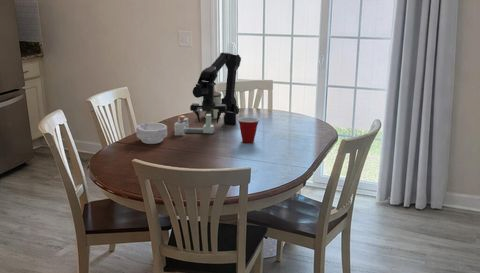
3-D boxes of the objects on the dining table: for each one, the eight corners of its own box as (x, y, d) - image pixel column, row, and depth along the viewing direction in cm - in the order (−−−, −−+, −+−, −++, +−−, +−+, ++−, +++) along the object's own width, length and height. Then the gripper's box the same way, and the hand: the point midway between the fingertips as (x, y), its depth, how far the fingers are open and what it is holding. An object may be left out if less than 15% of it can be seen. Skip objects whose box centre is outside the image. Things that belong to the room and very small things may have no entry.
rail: (214, 131, 264) (214, 128, 264) (213, 133, 262) (213, 129, 261) (187, 131, 265) (187, 127, 265) (186, 132, 262) (186, 129, 262)
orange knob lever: (185, 124, 265) (185, 115, 263) (184, 126, 261) (184, 117, 260) (179, 124, 265) (178, 115, 264) (177, 126, 261) (177, 117, 260)
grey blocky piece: (188, 128, 271) (188, 117, 269) (184, 135, 257) (183, 124, 256) (179, 128, 271) (179, 117, 269) (174, 135, 258) (174, 124, 256)
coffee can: (204, 118, 291) (204, 95, 287) (204, 114, 301) (203, 92, 297) (222, 118, 292) (222, 95, 288) (220, 114, 302) (220, 91, 298)
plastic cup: (259, 139, 253) (260, 116, 250) (258, 145, 243) (258, 121, 239) (238, 138, 254) (238, 115, 251) (236, 144, 244) (236, 121, 240)
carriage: (213, 130, 265) (213, 113, 263) (212, 133, 260) (212, 116, 258) (204, 130, 266) (204, 113, 263) (203, 133, 261) (203, 115, 258)
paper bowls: (167, 145, 241) (167, 129, 238) (136, 146, 238) (135, 130, 236) (167, 136, 255) (166, 121, 253) (137, 137, 253) (136, 122, 250)
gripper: (188, 97, 250) (188, 126, 255) (224, 98, 249) (224, 127, 253) (191, 92, 261) (192, 121, 265) (226, 93, 260) (226, 122, 264)
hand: (208, 123), depth 262 cm, fingers open, 9 cm apart
